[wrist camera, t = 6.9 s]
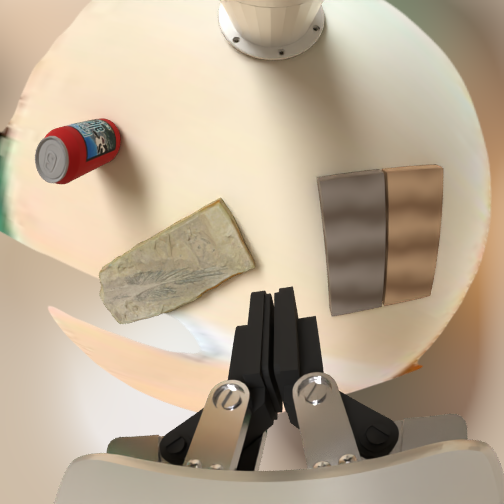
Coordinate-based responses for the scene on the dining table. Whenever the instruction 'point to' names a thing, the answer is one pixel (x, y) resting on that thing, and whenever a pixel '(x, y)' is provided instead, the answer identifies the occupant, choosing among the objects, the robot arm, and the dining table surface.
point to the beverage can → (76, 150)
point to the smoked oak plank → (354, 239)
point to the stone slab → (175, 265)
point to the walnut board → (411, 231)
